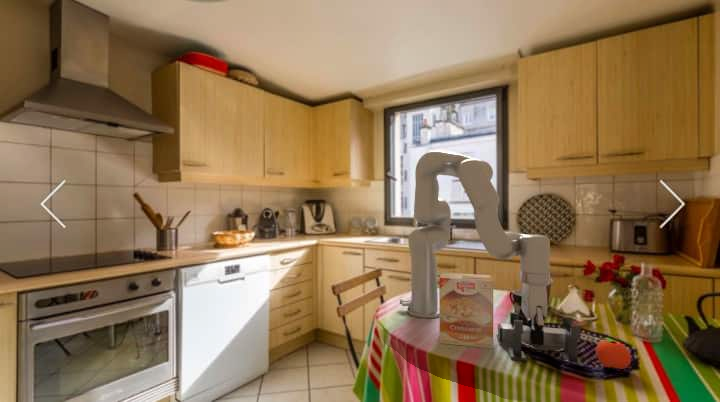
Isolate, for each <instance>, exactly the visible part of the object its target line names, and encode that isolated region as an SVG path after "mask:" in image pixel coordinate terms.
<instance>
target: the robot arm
mask: <svg viewBox="0 0 720 402" xmlns="http://www.w3.org/2000/svg"><path fill="white" fill-rule="evenodd" d="M414 174H415V189H414V205H413V206H414V207H413V216H414V219H415V220H416V222H418V223H419V224H423V225H424V224H425V225H427V226H423V227H418V228H415V229H414V230H412V231H411V232H410V233H409V235H408V249H409V255H410V269H411V270H410V272H411V274H410V275H411V276H410V277H411V278H410V279H411V280H410V282H411V283H410V284H411V296H410V298H408V299H405V298H404V299H403V298H401V299H399V305H401V306H402V307H407V308H406V311H407V313H408V314H409V315H410V316H413V317H416V318H420V319H421V318H422V319H434V318H439V306H438V301H439V297H438V295H439V293H438V262H437V261H438V260H437V257H436V255H435V252H437V251H440V250H443V249H444V248H446V247H447V245H448V244H449V241H450V234H451V233H450V232H451V218H452V216H451V213H452V212H451V208H450V205H449V203H448V202H447V201H446V200H445V199H444V198H440V197H439V193H440V186H439V181H438V178H437V177H438V176H440V175H441V176H449V177H454V178H457V179H458V181H459V183H460V185H461V186H462V188H463V189H464V192H465V195H466V196H467V198H468V200H469V203H470V204H471V206H472V208H473V218H474V225H475V229H476V232H477V234H478V236H479V238H480V240H481V243H482V244H483V246H484V249H485V250H486V251H487V253H488V254H489V255H490V256H491V257H493V258H494V259H496V260H501V261H502V260H506V259H510V258H512V257H518V256H519V257H520V267H519V268H520V275H519V276H520V278H519V279H520V280H519V281H520V283H522V287H521V288H522V289H521V290H522V305H521V308H522V311H523V313H524V315H525V316H526V318H527V326H532V329H531V344H535V345H544V326H545V323H544V322H546V321H547V319H548V308H547V291H546V286H547V285H550V278H551V272H550V271H551V263H550V262H551V258H550V257H551V246H550V245H551V241H550V239H549V237H548V236H546V235H542V234H537V233H535V234H532V233H531V234H530V233H529V234H525V233H521V232H515V231H505V230H504V228H503V227H502V224H501V222H500V220H499V215H498V206H499V204H500V196H499V194H498V192H497V190H496V188H495V187H494V185H493V183H492V181H491V180H492V178H493V176H494V171H493V167H492V166H491V165H490V163H488V162H487V161H485V160H482V159H477V158H475V157H471V156H468V155H467V156H466V155H463V154H460V153H456V152H451V151H446V150H441V149H440V150H439V149H436V150H435V149H433V150H430V151H428V152H425V153H424V154H423V155H421V157H420V158H419V159H418V161H417V163H416V166H415V173H414Z"/></svg>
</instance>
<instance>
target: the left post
mask: <svg viewBox="0 0 720 402" xmlns="http://www.w3.org/2000/svg"><path fill="white" fill-rule="evenodd" d="M509 324H511V326H512V347H509V346H506V348H507V352H508V354H509V358H510V360H512V361H519V362H520V361H521V362H527V357H526V355H525V353H524V351H521V334H523V321H522V320H519V314H518V313H515V312H509Z"/></svg>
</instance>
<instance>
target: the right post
mask: <svg viewBox="0 0 720 402" xmlns="http://www.w3.org/2000/svg"><path fill="white" fill-rule="evenodd" d="M562 329H564V331H565V352H559V355H560V354H561V356H562V357H563V358H564V359H565V360H568V361H571V362H575V363H579V364H583V362H582V361H581V360H580V358H579V357H578V354H577V350H578V340H581V325H579V324H578V325H577V324H573V318H572V316H565V315H564V316H562ZM561 356H560V357H561ZM583 365H584V364H583Z"/></svg>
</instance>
